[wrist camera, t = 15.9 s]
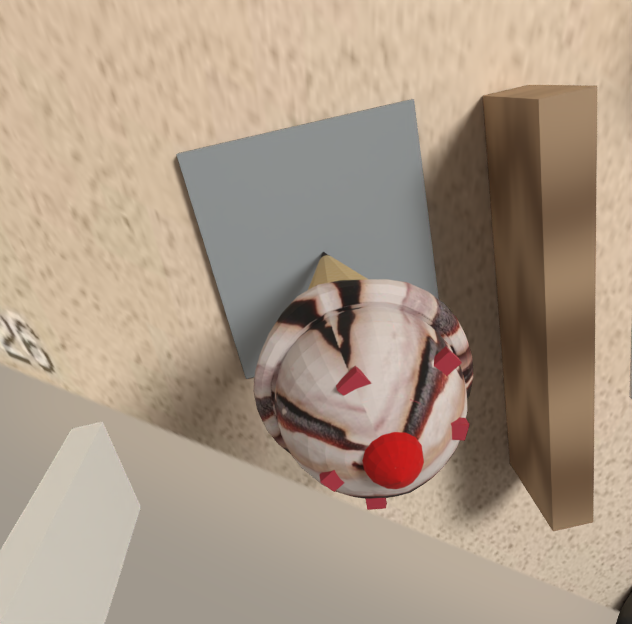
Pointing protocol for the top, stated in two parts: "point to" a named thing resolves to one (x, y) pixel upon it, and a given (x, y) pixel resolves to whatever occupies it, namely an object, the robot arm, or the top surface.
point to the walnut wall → (547, 287)
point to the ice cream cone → (365, 383)
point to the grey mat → (310, 212)
